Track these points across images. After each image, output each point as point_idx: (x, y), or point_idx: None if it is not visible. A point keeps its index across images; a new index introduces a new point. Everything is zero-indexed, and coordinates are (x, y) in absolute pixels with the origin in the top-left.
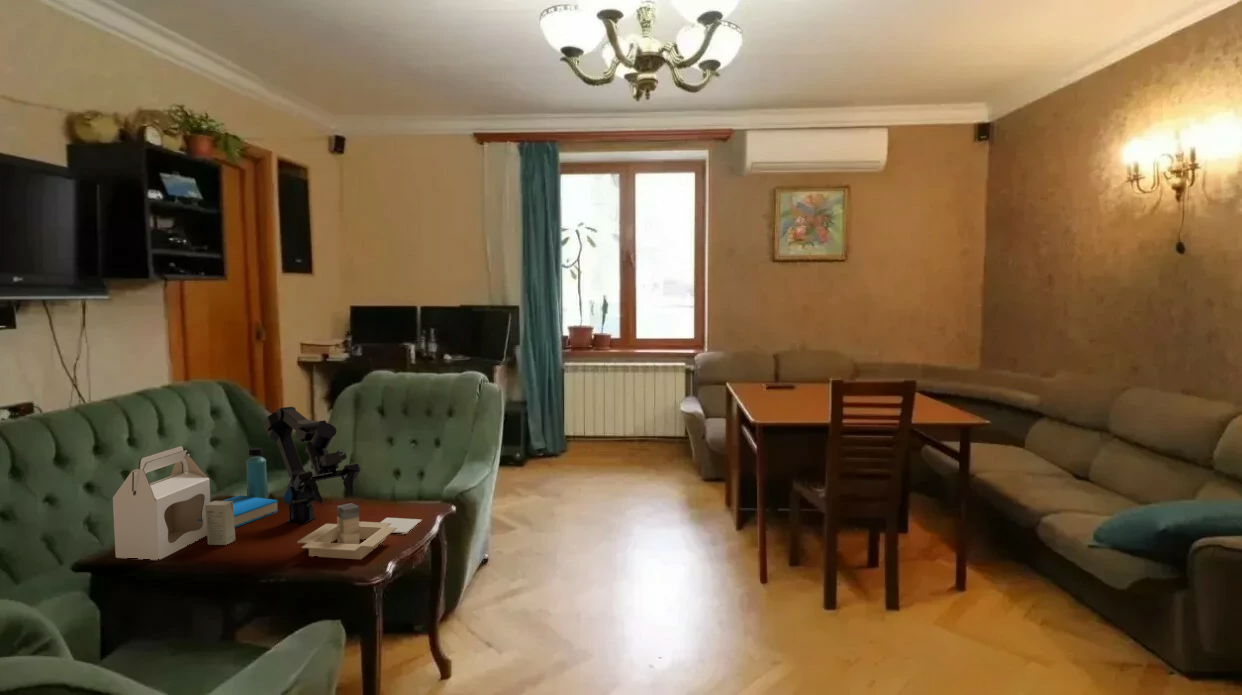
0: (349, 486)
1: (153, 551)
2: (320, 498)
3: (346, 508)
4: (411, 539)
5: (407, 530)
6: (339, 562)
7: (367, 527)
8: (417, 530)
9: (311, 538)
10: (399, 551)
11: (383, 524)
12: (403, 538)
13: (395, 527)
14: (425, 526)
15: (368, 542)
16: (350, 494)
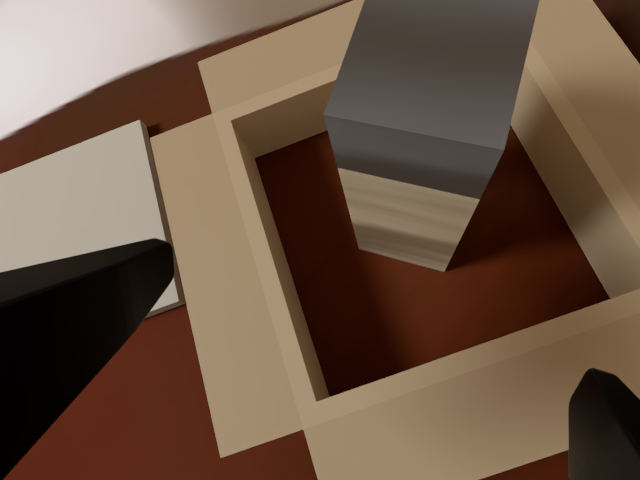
0: (48, 294)
1: None
2: (637, 411)
3: (492, 13)
4: (188, 68)
5: (118, 131)
6: None
7: (255, 201)
8: (83, 127)
9: (626, 346)
10: (324, 7)
11: (182, 154)
12: (191, 103)
13: (101, 209)
14: (27, 136)
15: None
16: (154, 270)
